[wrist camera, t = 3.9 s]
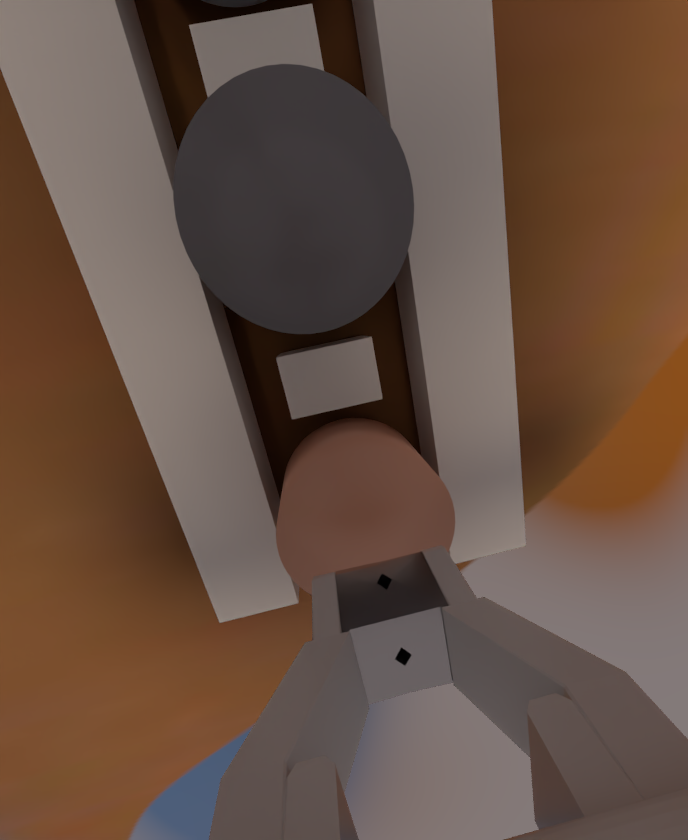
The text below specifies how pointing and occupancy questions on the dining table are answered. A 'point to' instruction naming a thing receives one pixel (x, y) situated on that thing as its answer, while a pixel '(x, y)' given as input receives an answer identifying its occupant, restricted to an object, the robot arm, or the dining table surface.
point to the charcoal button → (293, 199)
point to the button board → (204, 313)
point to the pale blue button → (234, 2)
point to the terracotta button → (358, 501)
